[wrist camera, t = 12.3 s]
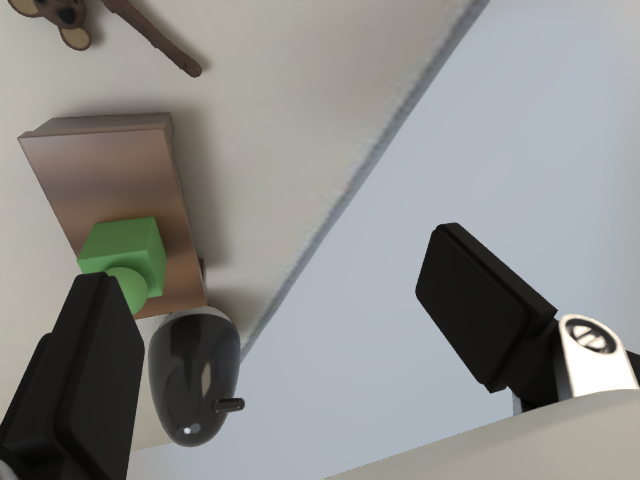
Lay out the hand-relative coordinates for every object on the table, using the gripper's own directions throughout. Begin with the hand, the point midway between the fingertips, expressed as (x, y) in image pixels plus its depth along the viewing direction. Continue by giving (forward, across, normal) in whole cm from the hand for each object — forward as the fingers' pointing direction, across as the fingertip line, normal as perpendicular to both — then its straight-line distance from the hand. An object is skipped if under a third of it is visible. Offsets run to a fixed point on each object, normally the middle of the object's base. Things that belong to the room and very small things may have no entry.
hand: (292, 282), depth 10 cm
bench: (+25, +10, +10) cm, 28 cm away
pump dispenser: (+24, +7, +27) cm, 37 cm away
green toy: (+19, +10, +10) cm, 23 cm away
